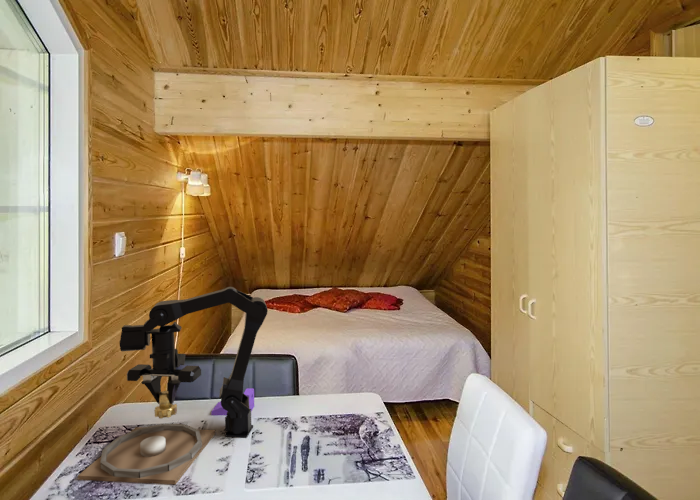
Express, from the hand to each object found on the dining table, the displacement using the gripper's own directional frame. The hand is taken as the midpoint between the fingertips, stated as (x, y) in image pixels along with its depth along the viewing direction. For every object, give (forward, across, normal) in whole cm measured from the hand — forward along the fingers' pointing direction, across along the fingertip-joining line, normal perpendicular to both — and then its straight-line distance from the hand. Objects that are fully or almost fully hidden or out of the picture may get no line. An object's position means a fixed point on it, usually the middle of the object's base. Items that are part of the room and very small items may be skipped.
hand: (165, 403), depth 120 cm
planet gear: (+3, 0, 0) cm, 3 cm away
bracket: (+11, -12, -20) cm, 26 cm away
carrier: (+11, 0, +7) cm, 13 cm away
